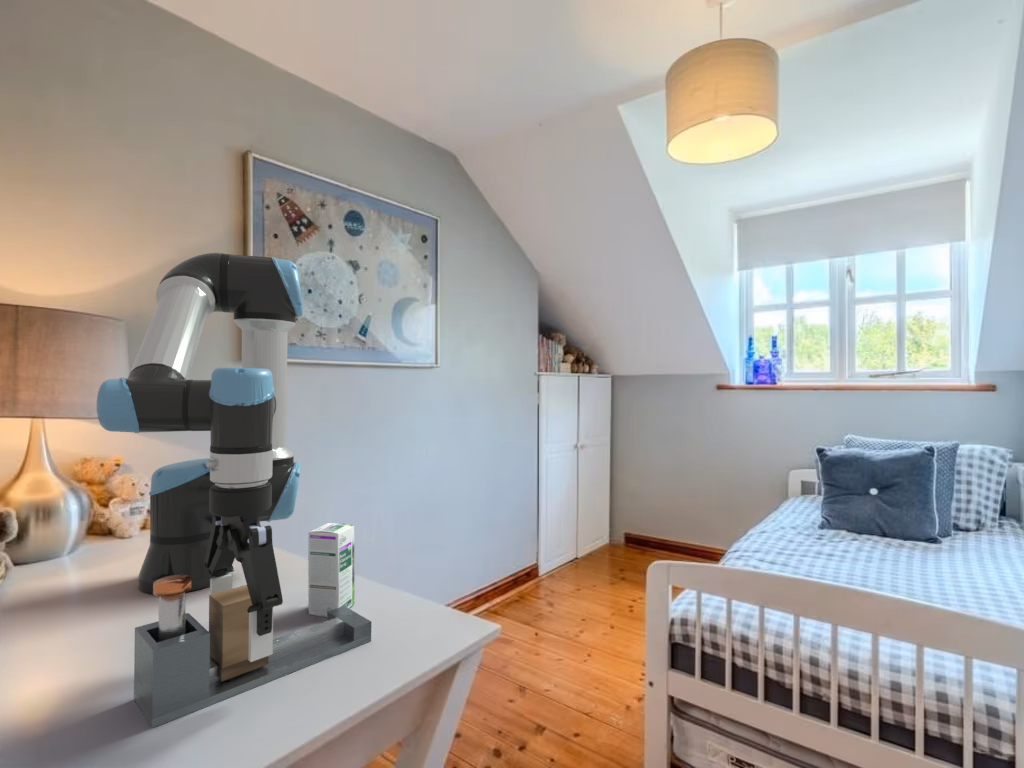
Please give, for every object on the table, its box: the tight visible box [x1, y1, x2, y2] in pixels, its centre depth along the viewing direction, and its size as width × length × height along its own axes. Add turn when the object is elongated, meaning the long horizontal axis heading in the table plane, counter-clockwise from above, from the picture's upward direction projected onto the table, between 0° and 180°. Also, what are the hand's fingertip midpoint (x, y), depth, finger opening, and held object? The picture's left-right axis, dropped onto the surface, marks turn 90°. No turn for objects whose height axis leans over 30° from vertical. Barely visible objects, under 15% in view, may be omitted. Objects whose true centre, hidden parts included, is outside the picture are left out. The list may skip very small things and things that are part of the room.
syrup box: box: [307, 522, 355, 618], centre depth 94 cm, size 6×6×14 cm
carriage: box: [208, 584, 269, 682], centre depth 73 cm, size 5×6×10 cm
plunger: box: [152, 575, 191, 642], centre depth 67 cm, size 4×4×10 cm
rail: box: [133, 606, 372, 729], centre depth 75 cm, size 8×29×9 cm, turn 137°
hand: (239, 638), depth 73 cm, fingers open, 13 cm apart
